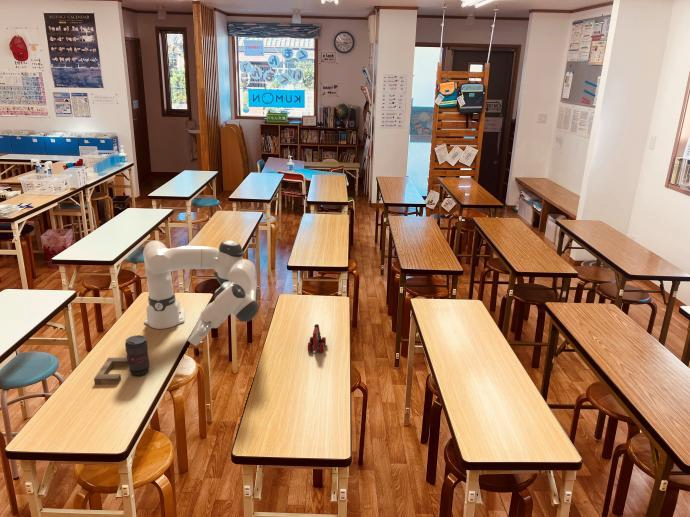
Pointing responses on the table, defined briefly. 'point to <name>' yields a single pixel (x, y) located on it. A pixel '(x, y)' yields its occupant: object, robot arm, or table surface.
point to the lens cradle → (103, 373)
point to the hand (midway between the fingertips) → (189, 339)
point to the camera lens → (137, 355)
